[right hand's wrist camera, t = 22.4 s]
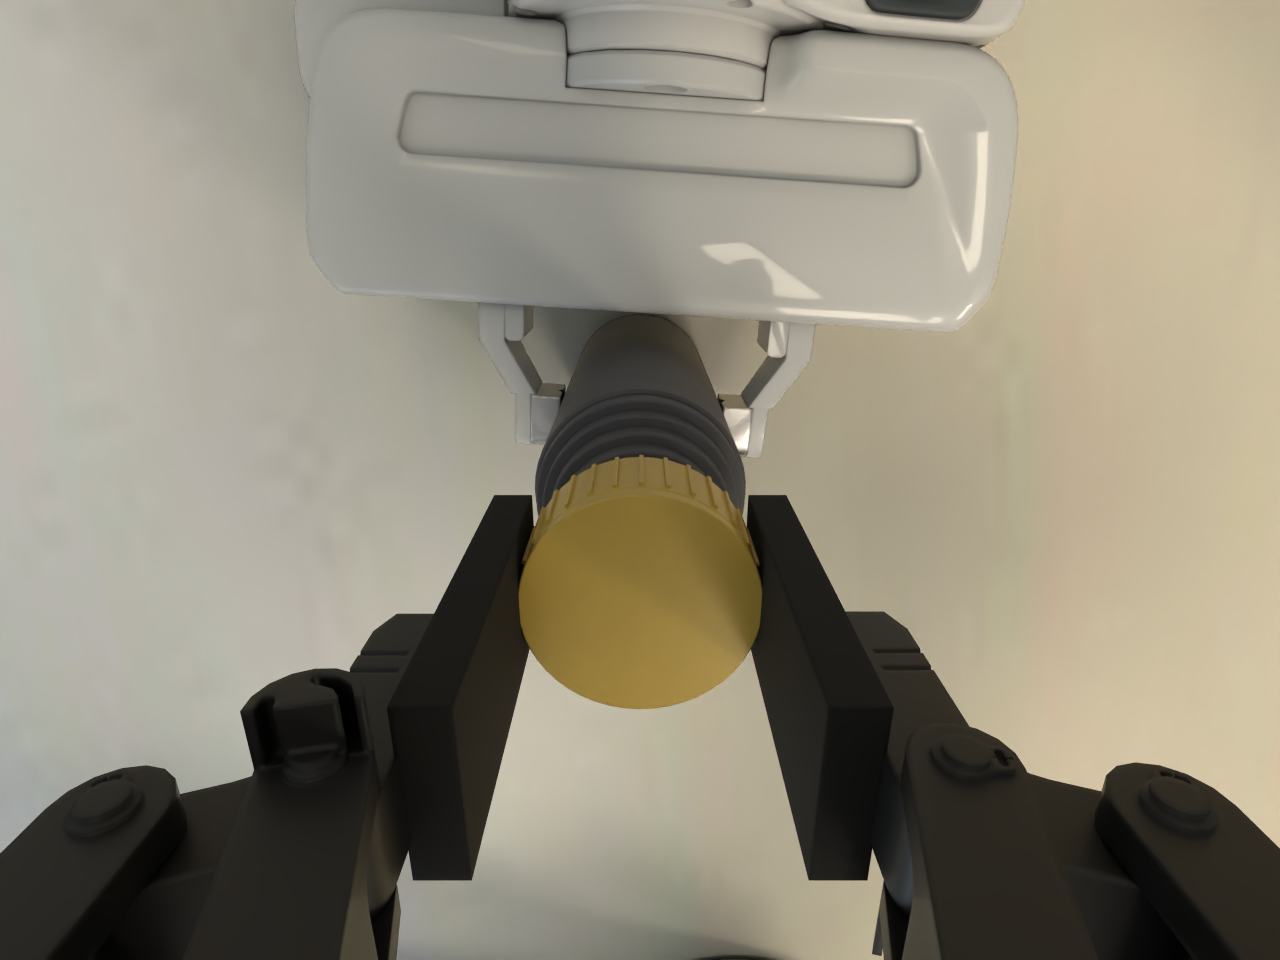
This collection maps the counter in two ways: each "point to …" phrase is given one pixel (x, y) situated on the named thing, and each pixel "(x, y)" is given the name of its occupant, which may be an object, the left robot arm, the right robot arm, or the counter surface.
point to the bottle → (640, 409)
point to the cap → (640, 584)
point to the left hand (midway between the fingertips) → (639, 446)
